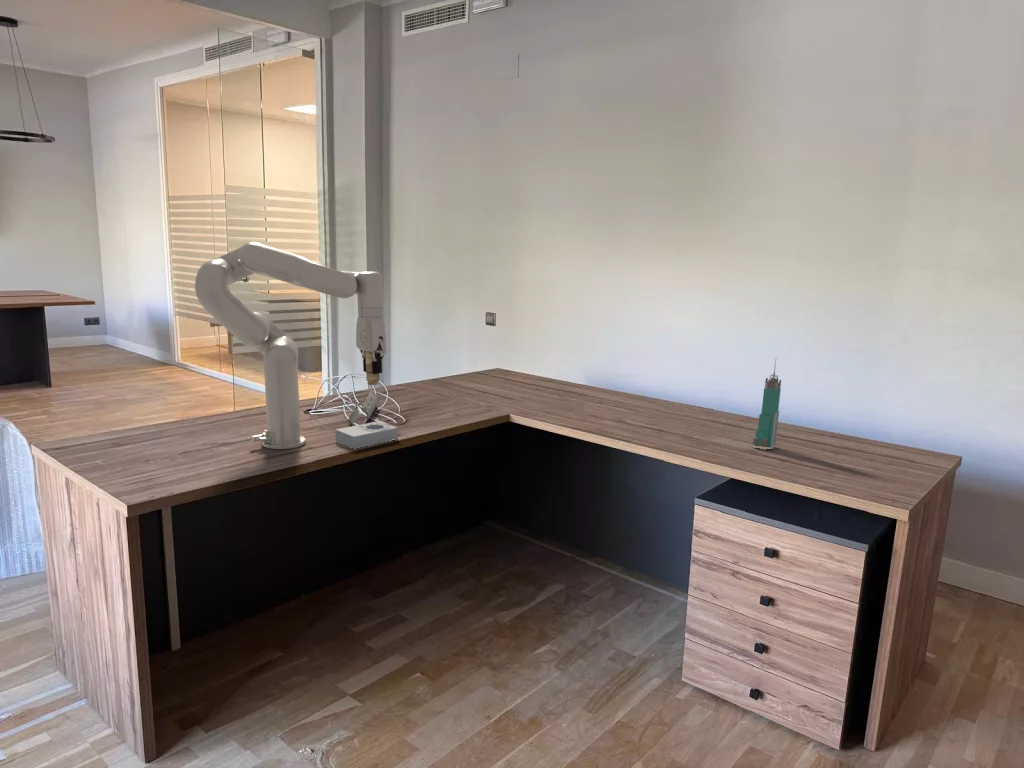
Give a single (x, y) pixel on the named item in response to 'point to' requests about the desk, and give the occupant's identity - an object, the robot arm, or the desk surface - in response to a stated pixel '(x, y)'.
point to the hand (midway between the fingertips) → (372, 371)
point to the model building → (365, 408)
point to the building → (769, 413)
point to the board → (366, 434)
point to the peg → (370, 377)
